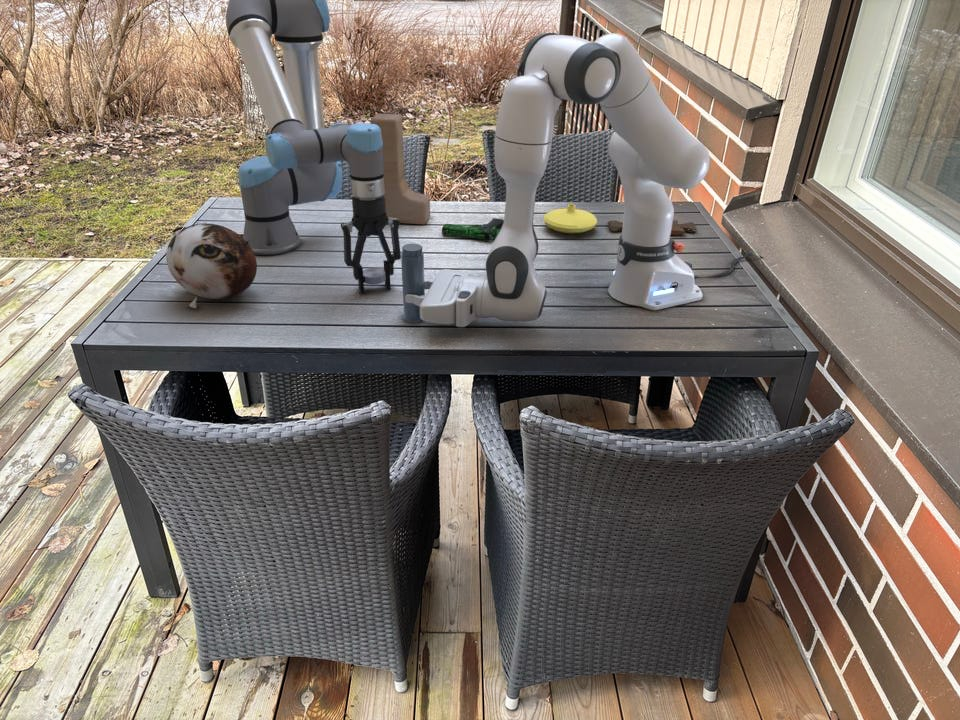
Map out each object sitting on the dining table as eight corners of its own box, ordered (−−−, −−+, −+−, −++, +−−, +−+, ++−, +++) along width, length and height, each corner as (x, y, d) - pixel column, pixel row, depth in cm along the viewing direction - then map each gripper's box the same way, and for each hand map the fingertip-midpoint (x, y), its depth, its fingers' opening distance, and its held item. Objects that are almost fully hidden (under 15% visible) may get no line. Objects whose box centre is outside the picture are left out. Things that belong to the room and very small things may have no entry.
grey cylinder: (405, 323, 159) (401, 252, 150) (402, 313, 163) (399, 243, 154) (426, 321, 160) (424, 250, 151) (423, 312, 164) (421, 242, 155)
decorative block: (425, 225, 212) (423, 121, 196) (376, 222, 213) (369, 118, 198) (430, 216, 218) (428, 115, 203) (382, 213, 220) (376, 113, 204)
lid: (391, 280, 172) (391, 273, 171) (370, 286, 169) (370, 279, 168) (377, 272, 176) (377, 265, 175) (357, 278, 172) (356, 272, 171)
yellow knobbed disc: (559, 216, 220) (561, 193, 217) (605, 227, 212) (608, 204, 209) (532, 230, 209) (533, 207, 206) (580, 242, 201) (582, 218, 198)
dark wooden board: (699, 237, 207) (691, 225, 216) (700, 231, 206) (692, 220, 215) (610, 234, 207) (606, 222, 216) (611, 228, 207) (607, 217, 215)
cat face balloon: (130, 285, 161) (164, 203, 163) (192, 308, 177) (221, 233, 178) (195, 307, 151) (229, 220, 152) (254, 330, 166) (285, 250, 168)
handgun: (511, 219, 210) (493, 234, 198) (511, 228, 211) (492, 244, 199) (461, 212, 215) (440, 226, 203) (461, 221, 217) (440, 236, 204)
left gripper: (330, 204, 156) (339, 301, 167) (413, 196, 162) (416, 289, 173) (323, 195, 162) (333, 288, 173) (403, 187, 168) (407, 277, 180)
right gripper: (479, 265, 163) (421, 260, 165) (462, 304, 146) (396, 298, 148) (479, 290, 166) (421, 285, 168) (462, 331, 149) (397, 324, 151)
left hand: (374, 288), depth 173 cm, fingers closed on lid, 6 cm apart
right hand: (409, 291), depth 158 cm, fingers closed on grey cylinder, 5 cm apart
